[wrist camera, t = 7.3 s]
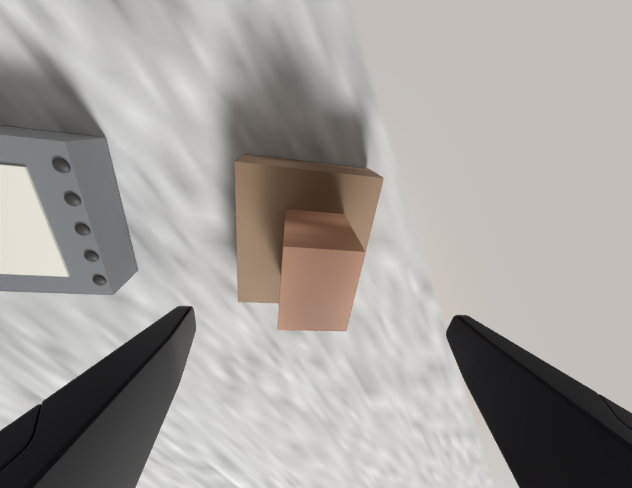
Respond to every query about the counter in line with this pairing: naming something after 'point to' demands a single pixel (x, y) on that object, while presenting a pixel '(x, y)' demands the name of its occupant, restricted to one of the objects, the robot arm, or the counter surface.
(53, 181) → the board
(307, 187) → the block on square base
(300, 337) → the counter surface
